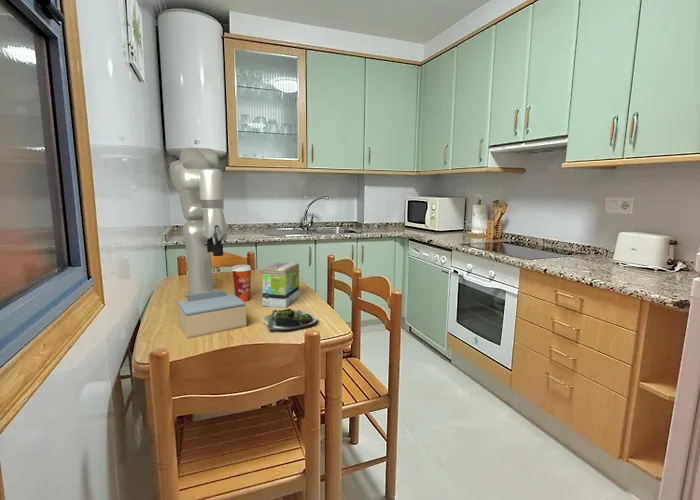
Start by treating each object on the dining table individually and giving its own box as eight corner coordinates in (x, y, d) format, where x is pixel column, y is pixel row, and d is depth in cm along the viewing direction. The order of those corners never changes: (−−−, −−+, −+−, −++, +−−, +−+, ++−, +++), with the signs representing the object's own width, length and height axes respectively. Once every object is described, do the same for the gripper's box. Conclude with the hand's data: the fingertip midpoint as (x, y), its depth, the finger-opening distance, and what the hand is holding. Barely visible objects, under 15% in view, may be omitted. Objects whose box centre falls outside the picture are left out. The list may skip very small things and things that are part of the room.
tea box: (286, 308, 140) (285, 270, 138) (262, 306, 142) (260, 268, 140) (299, 297, 155) (299, 262, 153) (277, 295, 157) (276, 261, 155)
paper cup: (242, 303, 146) (240, 268, 143) (229, 300, 150) (227, 266, 147) (257, 299, 152) (255, 265, 150) (243, 296, 156) (242, 263, 154)
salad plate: (252, 319, 130) (251, 306, 129) (299, 310, 139) (298, 298, 138) (271, 337, 113) (271, 322, 113) (323, 326, 123) (323, 312, 122)
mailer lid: (177, 303, 122) (176, 295, 121) (232, 294, 132) (231, 287, 131) (186, 315, 110) (185, 306, 110) (245, 304, 120) (245, 297, 120)
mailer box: (178, 324, 123) (177, 304, 122) (233, 314, 133) (232, 295, 132) (187, 338, 111) (186, 316, 110) (246, 326, 121) (245, 305, 120)
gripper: (196, 204, 134) (199, 251, 137) (206, 206, 119) (209, 258, 122) (217, 204, 138) (220, 249, 140) (229, 205, 123) (232, 256, 126)
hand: (215, 253), depth 131 cm, fingers open, 9 cm apart
